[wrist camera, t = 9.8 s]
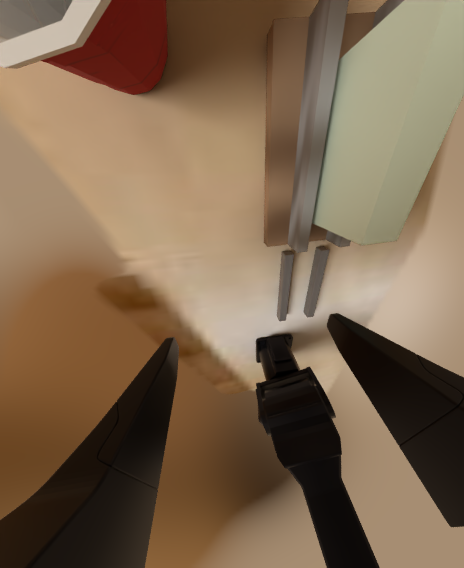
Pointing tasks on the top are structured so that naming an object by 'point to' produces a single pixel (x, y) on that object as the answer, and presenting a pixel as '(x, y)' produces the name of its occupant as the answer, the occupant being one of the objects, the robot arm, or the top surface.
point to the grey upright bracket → (314, 283)
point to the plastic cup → (88, 39)
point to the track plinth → (304, 114)
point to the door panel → (390, 119)
